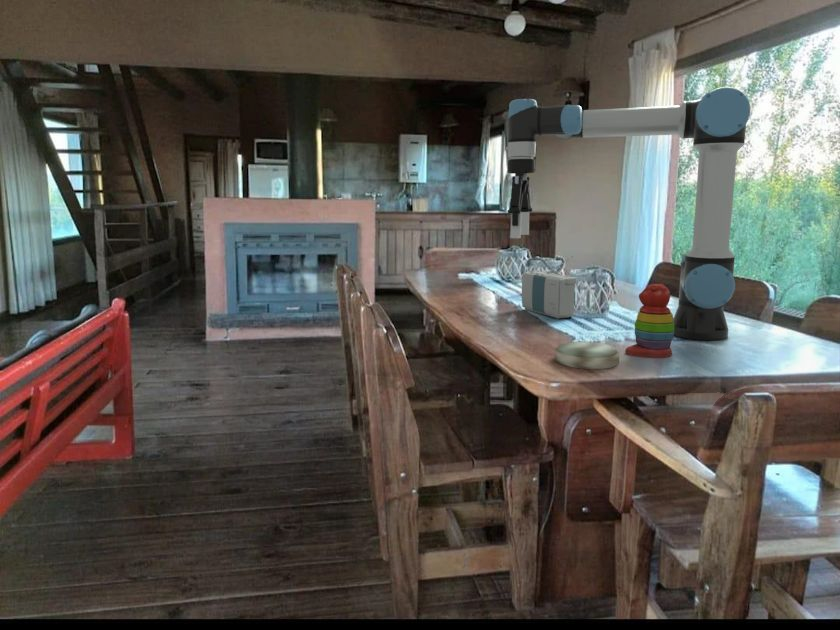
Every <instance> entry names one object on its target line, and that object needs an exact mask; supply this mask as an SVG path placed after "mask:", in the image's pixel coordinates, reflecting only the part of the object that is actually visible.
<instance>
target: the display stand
mask: <svg viewBox="0 0 840 630" xmlns="http://www.w3.org/2000/svg"><path fill="white" fill-rule="evenodd" d="M554 350H555V354H554V359H555V362H556V363H558V364H560V365H561V366H562V365H563V366H565V367H570V368H576V369H583V370H603V369H611V368H615V367H617V366H618V365H619V364H620V351H619V349H618V348H616V347H614V346H612V345H609V344H605V343H600V342H591V341H574V342H573V341H570V342H564V343H560V344H559V345H558V346H556V347H555V348H554Z"/></svg>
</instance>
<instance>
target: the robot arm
mask: <svg viewBox="0 0 840 630" xmlns="http://www.w3.org/2000/svg"><path fill="white" fill-rule="evenodd" d="M508 105H509V106H508V107H509V108H508V116H507V123H508V125H507V126H508V127H507V128H508V133H507V135H508V136H507V145H508V146H506V147H505V150H506V151H507V157H508V158H510V159H508V161H507V173H508V174H512V175H513V174H514V176H512V177H511V191H510V200H509V209H508V210H507V215H508V214H510V234H509V235H510V236H509V238H510V239H521V238H522V236H524V235H525V236H529V235H530V213H531V212H533V208H531V192H530V189H531V188H530V179H531V178H530V177H529V176H528V174H535V172H536V160H535V159H534V158H536V154H537V153H536V151H537V141H536V139H537V136H539V137H540V136H555V137H557V139H560V140H571V139H583V138H607V137H608V138H609V137H610V138H613V137H614V138H615V137H641V136H642V137H643V136H647V137H649V136H676V135H677V136H678V137H680V138H681V139H693V148H694V149H695V150H696V151H697V152H698V162H697V163H698V164H697V165H698V166H697V179H696V191H695V192H696V194H695V207H694V219H693V220H694V221H693V232H692V233H693V234H692V235H693V237H692V247H691V249H690V250H688V251H687V252H686V253H685V254H683V255H682V257H681V262H680V277H679V290H678V291H679V294H678V304H677V305H678V306H677V309H676V311H675V313H674V315H673V322H674V336H675V337H678V338H683V339H688V340H698V341H699V340H700V341H718V340H724V339H728V336H729V326H728V323H727V320H726V319H727V318H726V316H725V311H724V305H726V303H728V302H729V301H730V299H732V297H733V296H734V295H733V294H734V292H735V291H736V282H735V281H736V280H735V279H736V278H734V272H735V270H734V269H735V259H736V258H735V257H736V255H735V254H734V253H733V252H732V251H731V250H730V239H731V229H732V228H731V226H732V216H733V215H732V214H733V204H734V191H735V190H734V189H735V181H736V179H735V178H736V177H735V176H736V168H737V167H736V166H737V156H738V155H737V154H738V152H739V150H740V149H741V148H742V147H744V146H745V142H746V141H745V140H746V131H747V123H748V121H749V120H750V116H751V104H750V101H749V99H748V97H747V96H746V94H745V93H744V92H742V91H741V90H740V89H737V88H735V87H731V86H723V87H721V86H720V87H718V88H715V89H712V90H710V91H708V92H706V93H705V94H703V96H702V97H701V99H696V100H688V101H687V100H685V101H683V102H682V103H681V104H680V105H665V106H648V107H647V106H645V107H644V106H643V107H627V108H626V107H624V108H623V107H622V108H621V107H620V108H604V109H602V108H601V109H599V108H598V109H582V106H580V105H579V104H575V105H574V104H564V105H563V104H562V105H551V106H538V103H537V100H536V99H534V98H518V99H514V100H513V99H512V100H511V101H510V102H509V104H508Z"/></svg>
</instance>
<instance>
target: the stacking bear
mask: <svg viewBox="0 0 840 630" xmlns="http://www.w3.org/2000/svg"><path fill="white" fill-rule="evenodd" d="M638 299H639V301H640V303H641V304H642V306H641V307H640V308H639V310H638V314H637V316H636V319H635V323H634V336H635V344H632V345H629V346H627V347H626V348H625V350H624V353H625V354H627V355H630V356H634V357H642V358H653V359H663V358H669V357H671V356H672V355H673V350H672V348H671V345H672V341H673V339H674V336H675V335H674V322H673V318H674V315H673V313H672V312H671V308H669V307H667V306H668V304H669V302H670V299H671V292H670V290H669V288H668V287H667V286H666V285H665V284H664V283H662V282H660V283H652V284H649V285H646V287H645V288H644V289H643V290H642V291H641V292H640V293H639V294H638Z"/></svg>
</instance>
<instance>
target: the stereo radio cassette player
mask: <svg viewBox="0 0 840 630" xmlns="http://www.w3.org/2000/svg"><path fill="white" fill-rule="evenodd" d="M573 258H574V256H573V255H572V256H571V257H569V258H568V259H566V260H564V261H562V262H561V263H560V264H557V265H555V267H554V268H552V269H550V270H549V271H548V272H547V271H526V272H523V273H522V277H521V306H522V307H523V308H524V309H525V310H526V311H532V312H534V313H538V314H541V315H545V316H548V317H551V318H554V319H556V320H559V319H565V318H566V319H567V318H569V317H571V318H572V317H573V316H574V315H575V313H574V312H575V292H576V290H575V288H576V286H575V285H576V284H577V283H578V279H577V278H576V277H575V276H574V277H572V276H568V275H564V274H563V275H562V274H558V273H557V274H556V273H552V272H553V271H554V270H556V269H558V268H559V267H560V266H562V265H563V264H565V263H566V262H568V261H570V260H571V259H573Z"/></svg>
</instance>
